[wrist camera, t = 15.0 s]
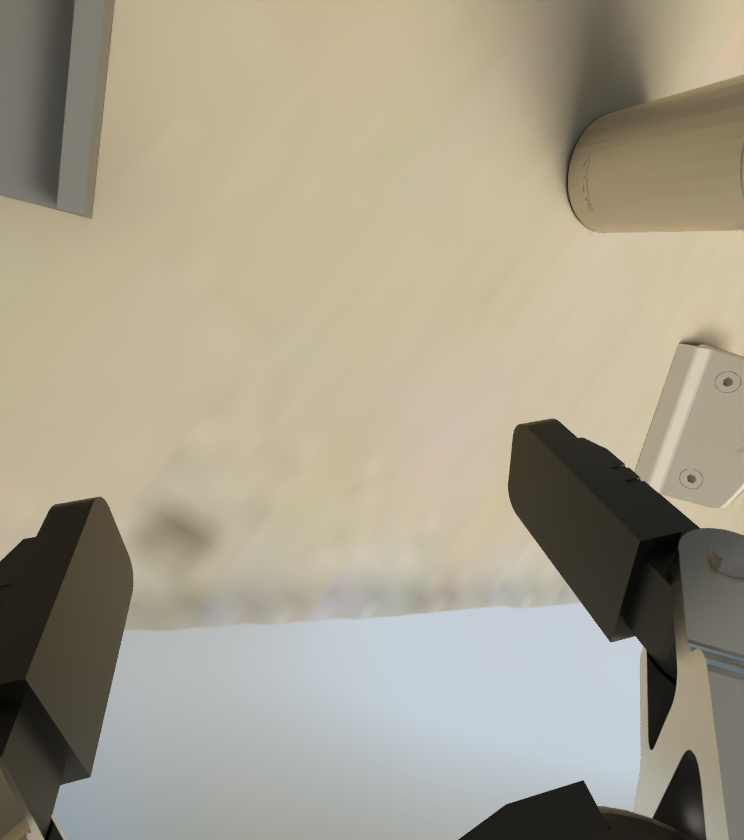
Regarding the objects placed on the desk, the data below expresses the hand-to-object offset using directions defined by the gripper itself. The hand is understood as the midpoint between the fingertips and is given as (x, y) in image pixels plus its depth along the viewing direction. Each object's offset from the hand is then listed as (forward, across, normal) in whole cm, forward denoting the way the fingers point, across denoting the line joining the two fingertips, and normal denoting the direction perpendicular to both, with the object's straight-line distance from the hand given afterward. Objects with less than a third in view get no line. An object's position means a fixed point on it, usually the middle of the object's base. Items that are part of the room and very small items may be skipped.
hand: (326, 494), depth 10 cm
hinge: (+32, -42, +24) cm, 57 cm away
